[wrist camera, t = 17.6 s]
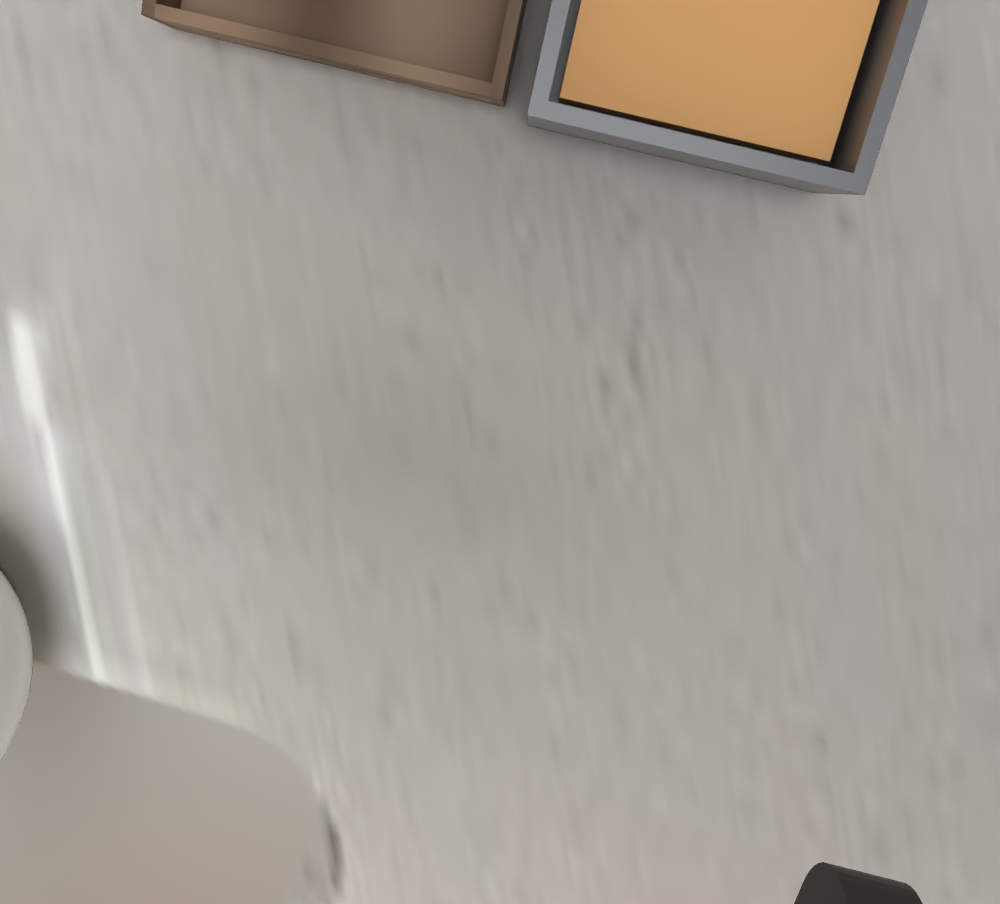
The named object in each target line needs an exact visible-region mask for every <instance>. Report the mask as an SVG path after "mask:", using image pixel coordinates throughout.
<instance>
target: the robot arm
mask: <svg viewBox="0 0 1000 904" xmlns="http://www.w3.org/2000/svg"><path fill="white" fill-rule="evenodd" d="M794 904H922V902H921V900H920V898H919V897H918V895H917V893H916V892H915V891H914V889H913V888H912V887H911V886H909V885H908V884H906V883H903V882H899V881H895V880H891V879H887V878H883V877H879V876H875V875H871V874H867V873H863V872H860V871H856V870H852V869H848V868H844V867H840V866H836V865H832V864H828V863H824V862H822V863H818V864H816V865H815V866H814V867H813V868H812V869H811V870H810V871H809V873H808V874H807V876H806V878H805V880H804V882H803V884H802V886H801V889H800V891H799V894H798V896H797V898H796V901H795V903H794Z"/></svg>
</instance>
